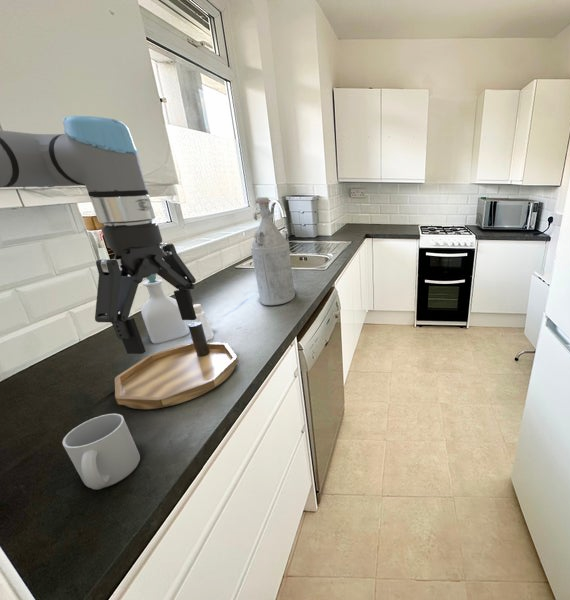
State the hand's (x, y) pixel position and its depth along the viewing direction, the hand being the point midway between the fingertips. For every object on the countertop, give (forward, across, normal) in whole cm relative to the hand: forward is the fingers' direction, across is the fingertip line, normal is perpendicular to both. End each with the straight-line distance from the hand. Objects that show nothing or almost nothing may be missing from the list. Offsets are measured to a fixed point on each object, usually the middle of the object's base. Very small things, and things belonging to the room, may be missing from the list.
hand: (165, 334), depth 60 cm
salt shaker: (+18, +31, +17) cm, 39 cm away
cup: (+18, -17, +2) cm, 25 cm away
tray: (+18, +10, +9) cm, 23 cm away
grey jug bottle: (+18, +63, +7) cm, 66 cm away
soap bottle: (+18, +31, +28) cm, 45 cm away
